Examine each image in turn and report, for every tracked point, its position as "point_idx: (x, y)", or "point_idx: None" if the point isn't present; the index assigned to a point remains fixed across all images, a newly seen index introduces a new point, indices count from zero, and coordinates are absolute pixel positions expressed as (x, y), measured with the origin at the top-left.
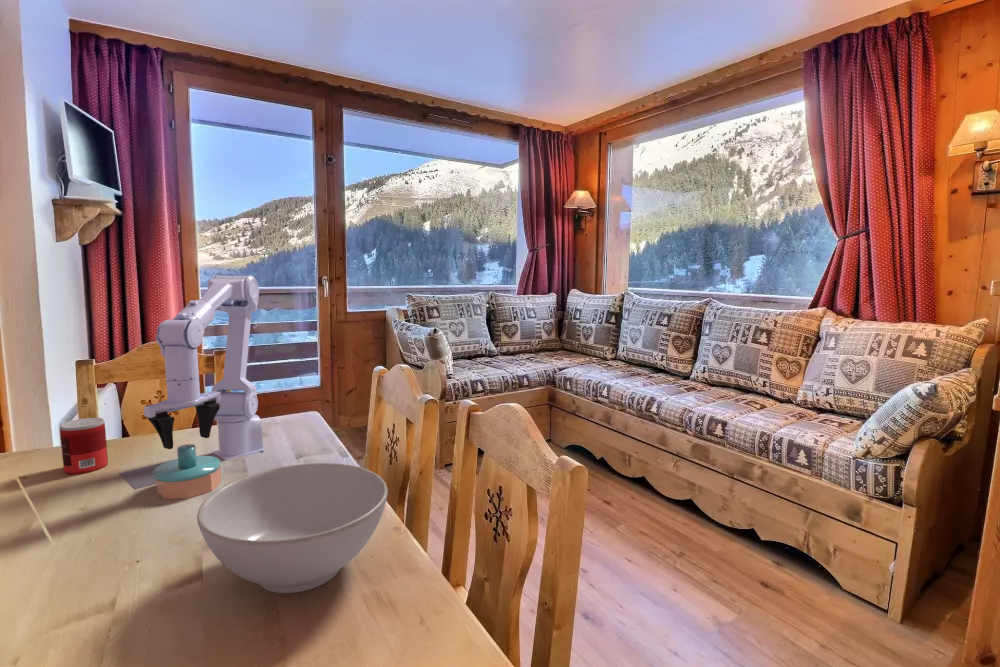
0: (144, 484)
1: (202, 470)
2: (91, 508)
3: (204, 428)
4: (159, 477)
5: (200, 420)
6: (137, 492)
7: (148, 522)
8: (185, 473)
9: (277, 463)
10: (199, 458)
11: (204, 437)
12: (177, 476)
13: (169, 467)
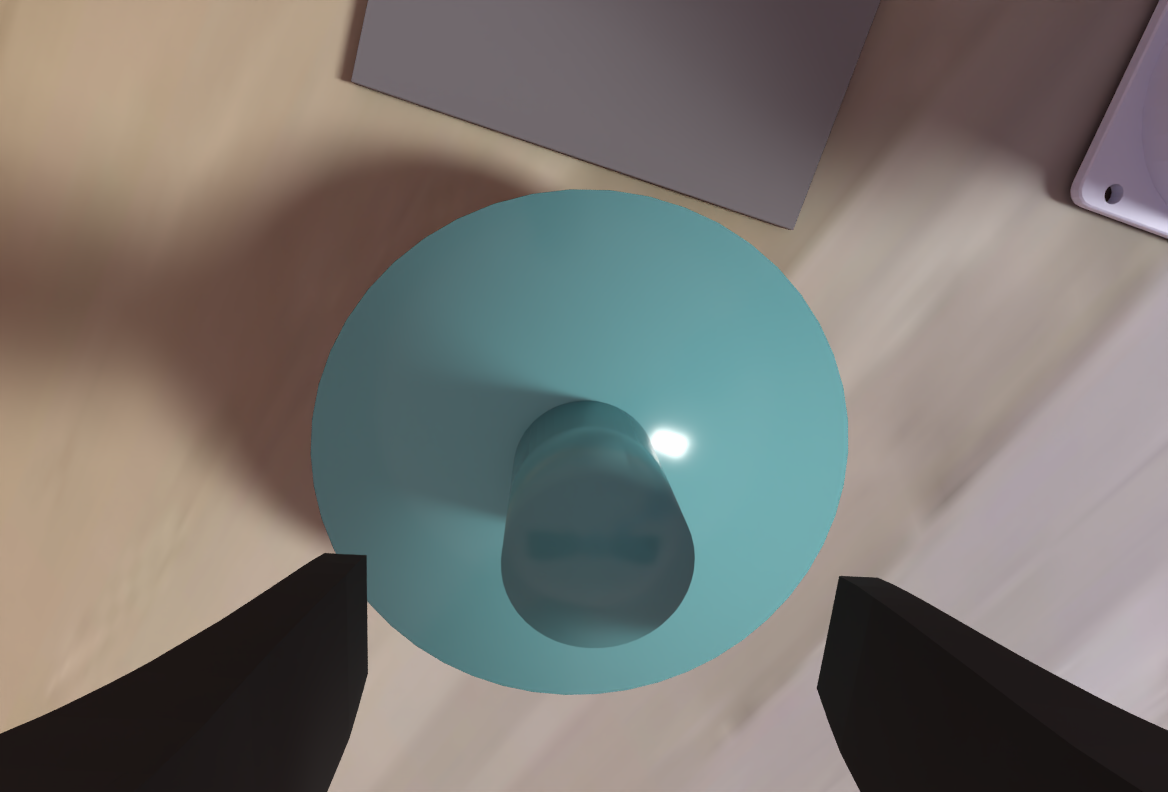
0: (440, 61)
1: (576, 653)
2: (18, 99)
3: (892, 755)
4: (315, 477)
5: (1000, 763)
6: (351, 130)
7: (165, 625)
8: (470, 595)
9: (1124, 567)
10: (766, 391)
11: (825, 654)
12: (399, 596)
13: (490, 351)
